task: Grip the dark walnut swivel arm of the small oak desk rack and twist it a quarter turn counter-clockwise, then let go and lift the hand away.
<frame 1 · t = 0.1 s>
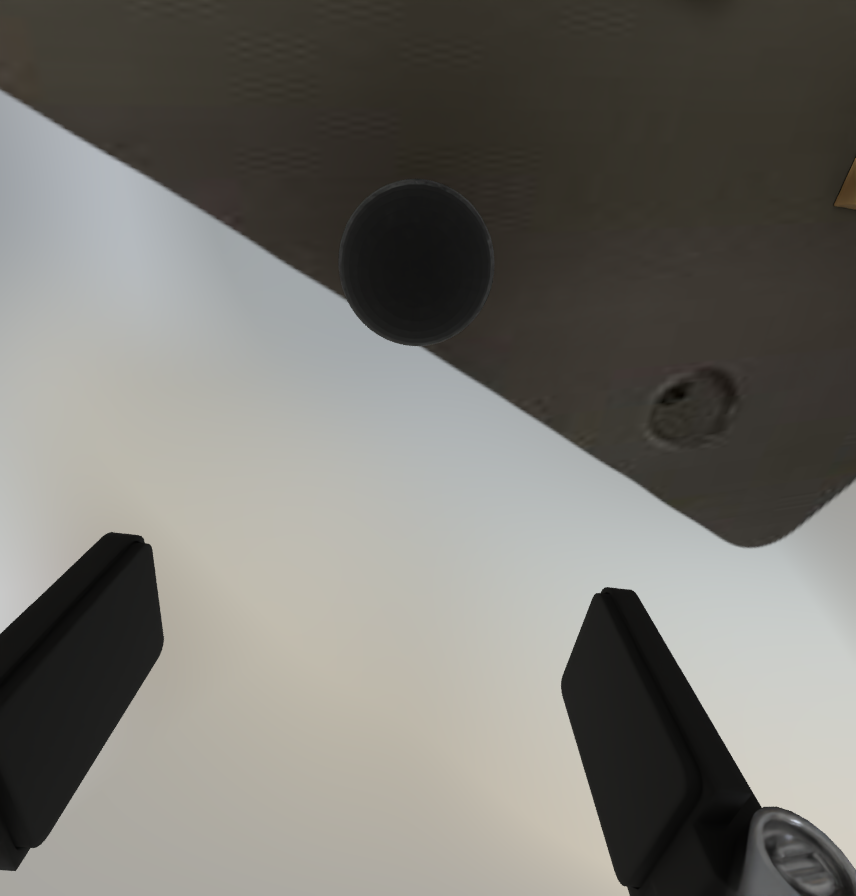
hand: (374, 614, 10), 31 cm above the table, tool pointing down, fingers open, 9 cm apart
microphone: (419, 251, 36), on the table
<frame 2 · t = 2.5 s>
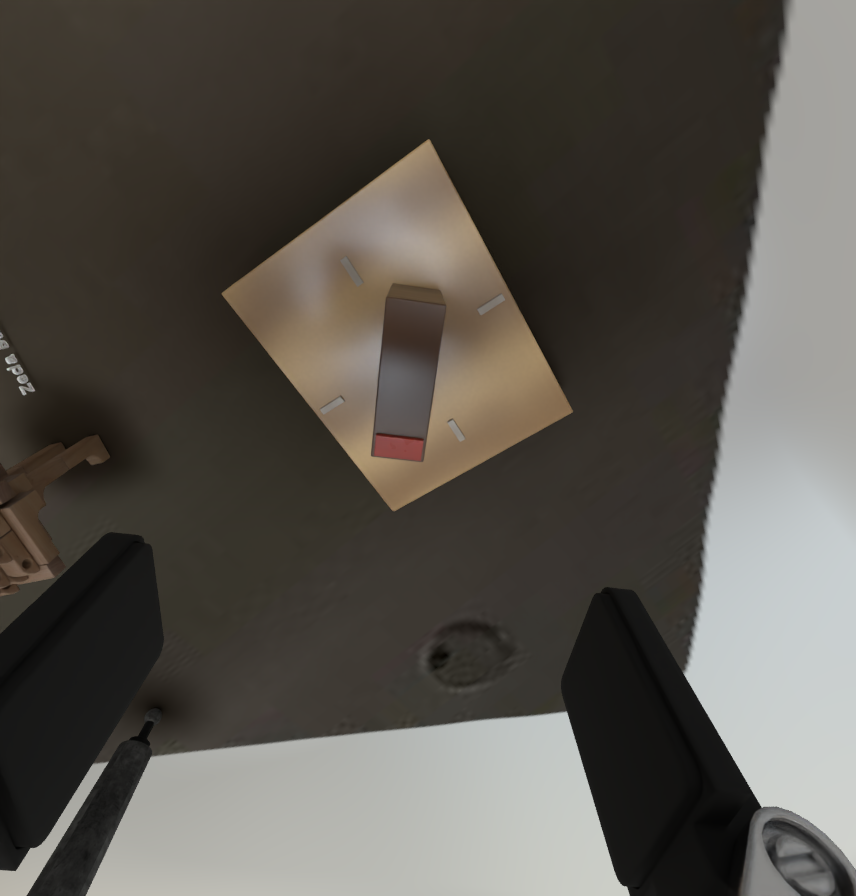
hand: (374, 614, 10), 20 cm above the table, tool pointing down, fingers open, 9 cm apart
microphone: (158, 707, 41), on the table
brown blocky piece: (39, 379, 28), on the table
swivel arm: (407, 370, 22), point 6 cm above the table, hinge at -40.0°
rack base: (409, 341, 27), on the table
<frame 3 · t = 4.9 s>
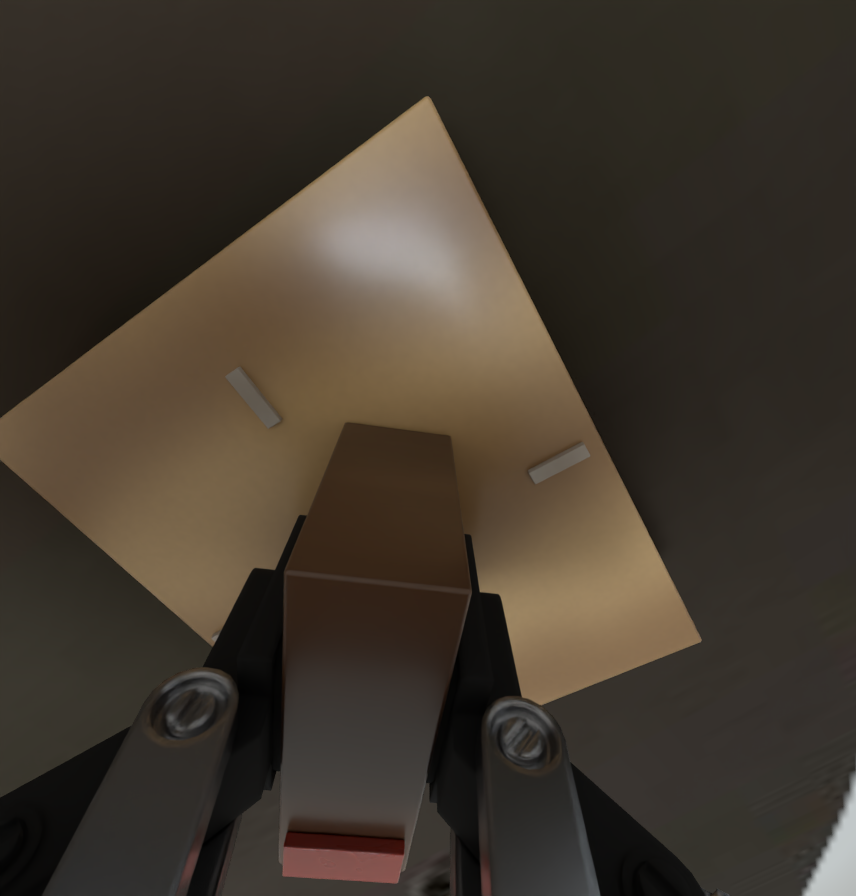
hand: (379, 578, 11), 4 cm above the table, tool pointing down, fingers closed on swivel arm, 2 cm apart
swivel arm: (372, 635, 9), point 6 cm above the table, hinge at -40.0°, touching gripper
rack base: (391, 484, 15), on the table
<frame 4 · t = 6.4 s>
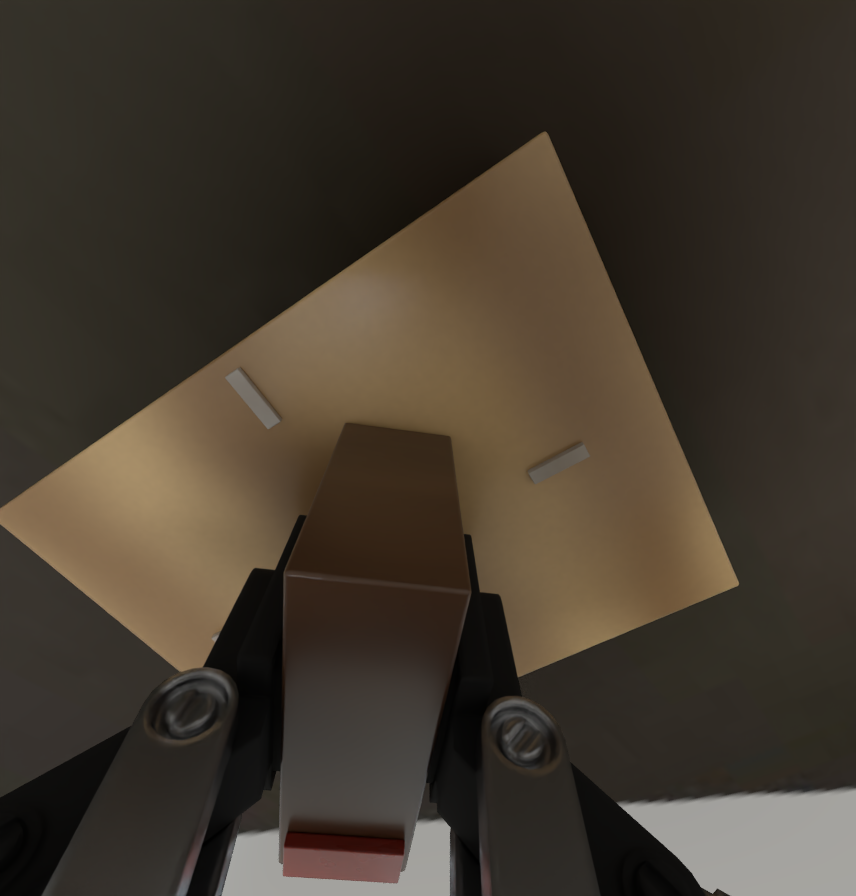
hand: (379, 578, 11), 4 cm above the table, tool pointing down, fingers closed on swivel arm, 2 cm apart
swivel arm: (372, 635, 9), point 6 cm above the table, hinge at 50.0°, touching gripper
rack base: (391, 484, 15), on the table
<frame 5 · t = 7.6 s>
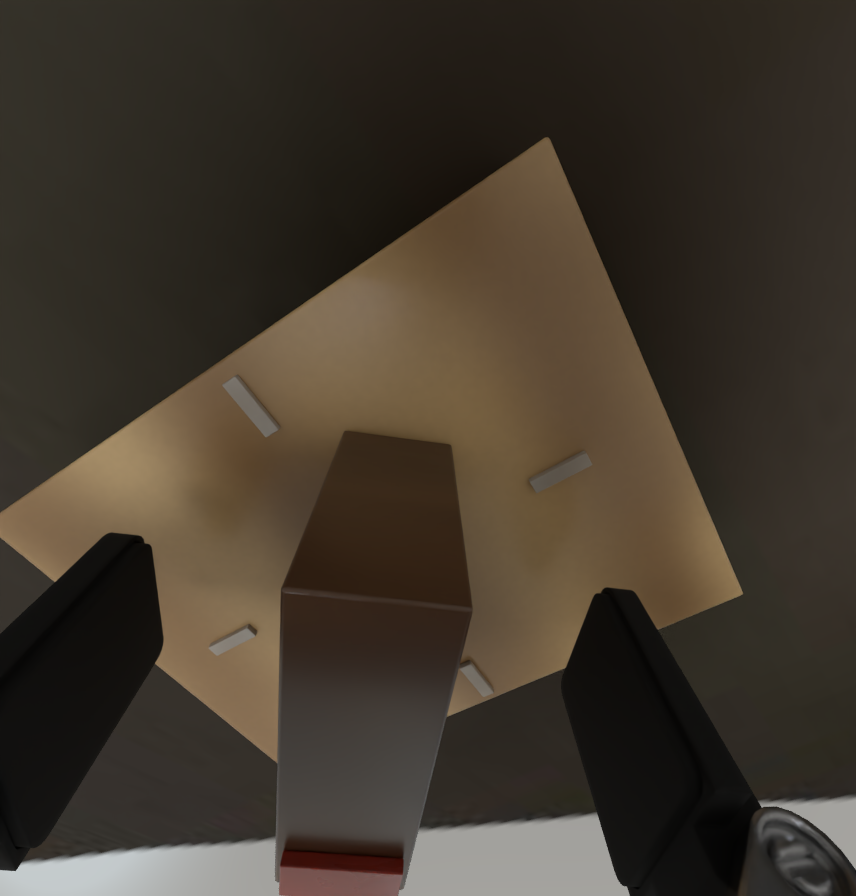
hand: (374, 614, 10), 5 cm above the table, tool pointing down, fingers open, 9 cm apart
swivel arm: (370, 647, 9), point 6 cm above the table, hinge at 49.9°
rack base: (390, 491, 15), on the table
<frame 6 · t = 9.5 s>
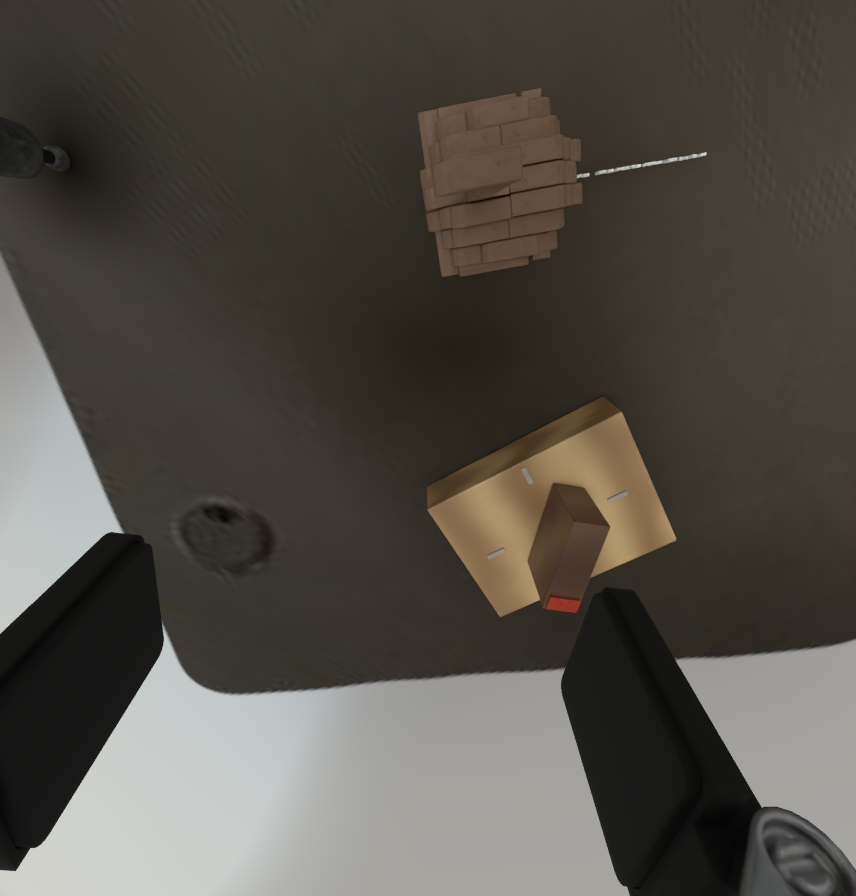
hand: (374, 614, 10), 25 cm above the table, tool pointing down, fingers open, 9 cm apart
microphone: (66, 160, 28), on the table
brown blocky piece: (557, 187, 29), on the table
swivel arm: (564, 547, 32), point 6 cm above the table, hinge at 49.9°
rack base: (543, 501, 38), on the table
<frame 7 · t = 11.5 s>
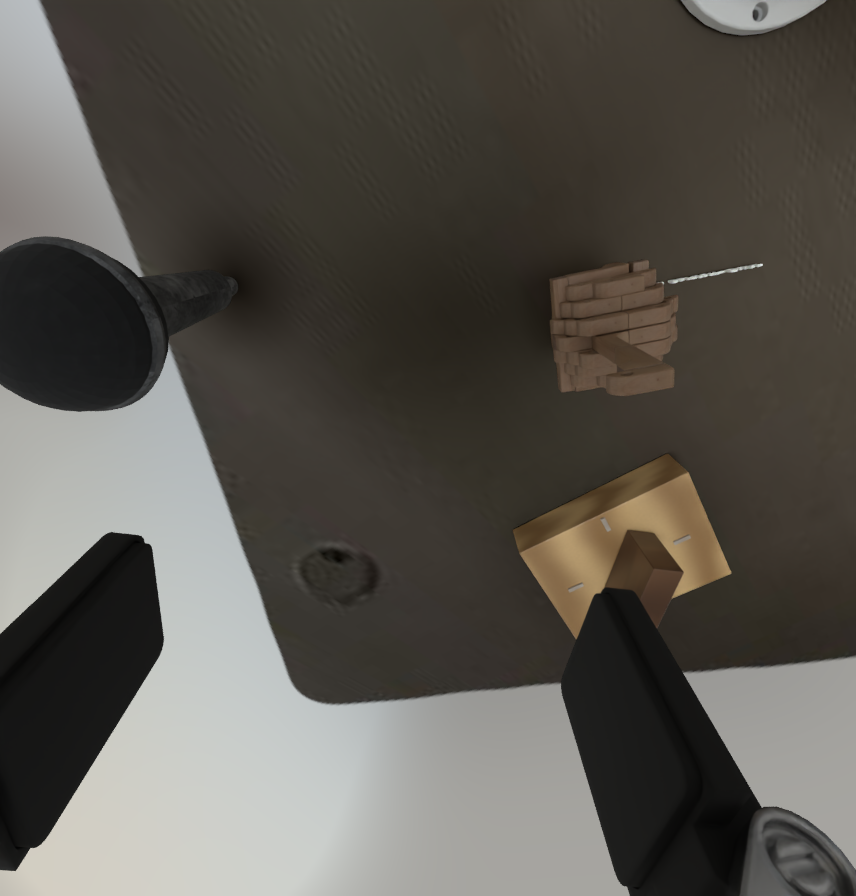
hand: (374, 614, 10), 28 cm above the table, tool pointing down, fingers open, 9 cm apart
microphone: (232, 284, 34), on the table
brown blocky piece: (635, 291, 34), on the table
swivel arm: (639, 584, 38), point 6 cm above the table, hinge at 49.9°
rack base: (612, 539, 44), on the table
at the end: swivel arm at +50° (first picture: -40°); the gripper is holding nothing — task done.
